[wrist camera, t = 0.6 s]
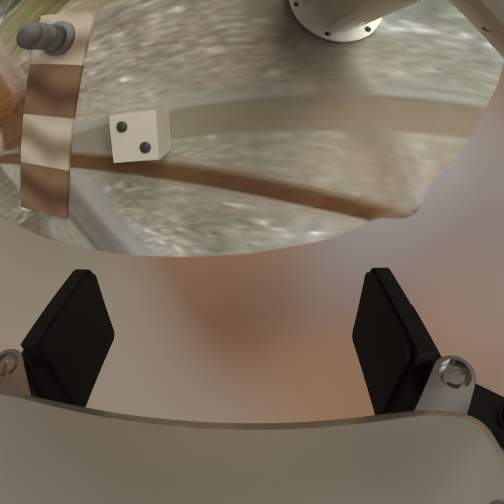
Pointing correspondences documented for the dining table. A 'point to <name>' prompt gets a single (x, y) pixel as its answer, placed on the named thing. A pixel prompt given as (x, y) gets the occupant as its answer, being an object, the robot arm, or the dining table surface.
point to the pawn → (47, 37)
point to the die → (140, 134)
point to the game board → (52, 119)
